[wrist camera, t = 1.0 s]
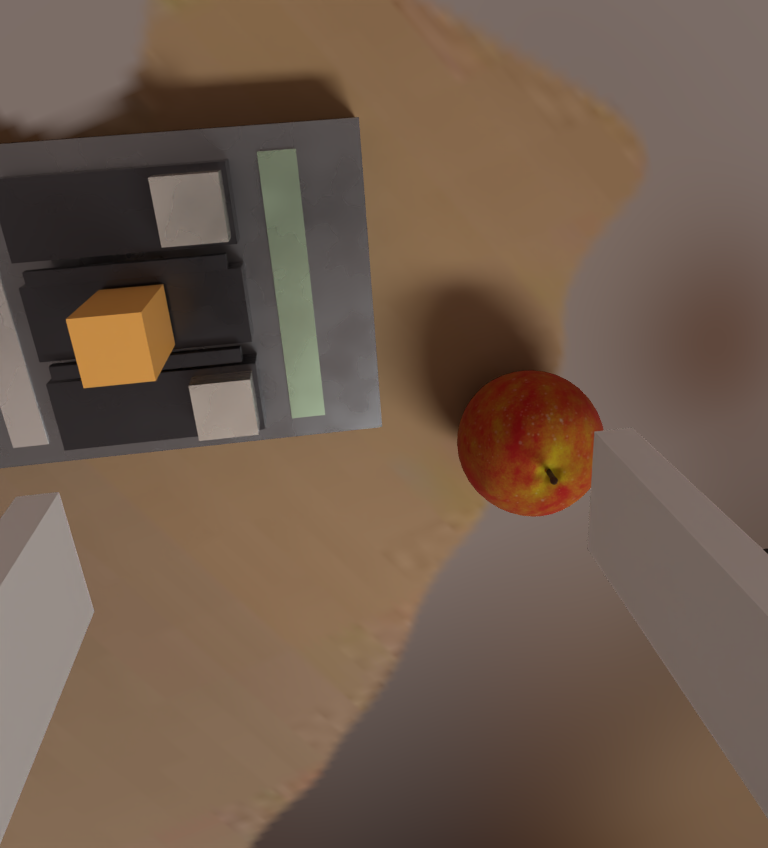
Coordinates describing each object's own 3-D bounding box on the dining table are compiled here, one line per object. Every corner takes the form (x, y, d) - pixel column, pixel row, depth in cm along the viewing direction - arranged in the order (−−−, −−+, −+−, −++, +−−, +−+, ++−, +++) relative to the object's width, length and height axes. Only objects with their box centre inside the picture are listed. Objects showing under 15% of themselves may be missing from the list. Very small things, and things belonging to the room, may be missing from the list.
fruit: (597, 416, 38) (668, 488, 31) (496, 495, 39) (541, 581, 32) (524, 324, 35) (582, 378, 28) (418, 411, 37) (448, 485, 29)
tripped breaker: (113, 350, 30) (83, 388, 26) (98, 289, 29) (65, 319, 25) (175, 344, 30) (155, 381, 26) (163, 284, 29) (141, 312, 25)
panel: (-22, 453, 35) (-67, 501, 31) (-124, 152, 29) (-196, 159, 25) (377, 411, 36) (388, 450, 32) (355, 117, 31) (364, 117, 26)
